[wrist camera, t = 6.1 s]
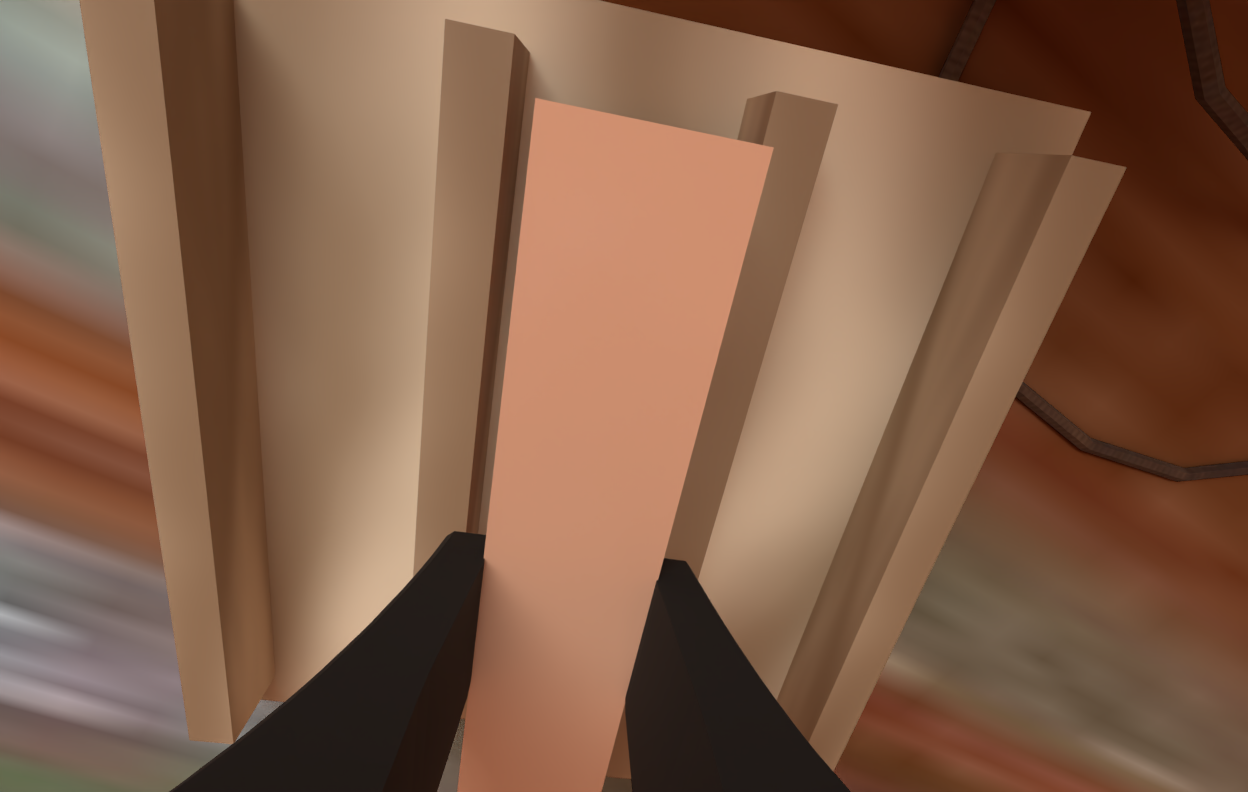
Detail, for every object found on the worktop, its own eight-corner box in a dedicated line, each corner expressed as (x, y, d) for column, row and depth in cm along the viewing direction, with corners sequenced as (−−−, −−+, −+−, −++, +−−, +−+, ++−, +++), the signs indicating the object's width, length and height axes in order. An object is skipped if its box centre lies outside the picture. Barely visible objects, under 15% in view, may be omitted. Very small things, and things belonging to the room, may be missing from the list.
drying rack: (244, 660, 17) (171, 766, 14) (177, -82, 10) (13, -167, 8) (792, 716, 19) (827, 820, 16) (1047, 114, 12) (1187, 106, 9)
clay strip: (491, 672, 16) (446, 886, 12) (565, 111, 10) (535, 97, 6) (582, 682, 16) (573, 895, 12) (702, 139, 11) (773, 148, 6)
